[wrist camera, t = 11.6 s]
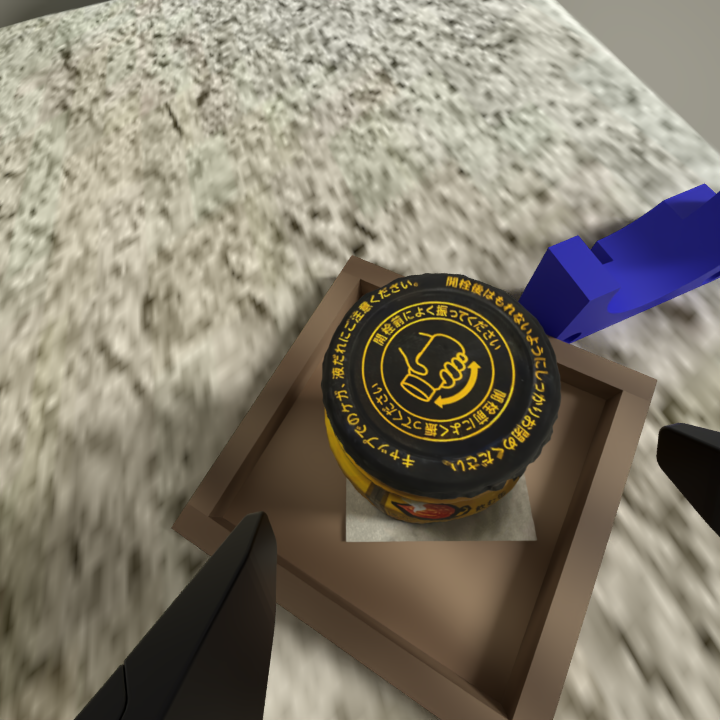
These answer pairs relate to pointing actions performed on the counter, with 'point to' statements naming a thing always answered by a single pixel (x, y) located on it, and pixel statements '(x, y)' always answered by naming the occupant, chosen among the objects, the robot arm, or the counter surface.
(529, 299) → the cable clip
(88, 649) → the counter surface
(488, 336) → the condiment
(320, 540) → the dock holder
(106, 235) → the counter surface
